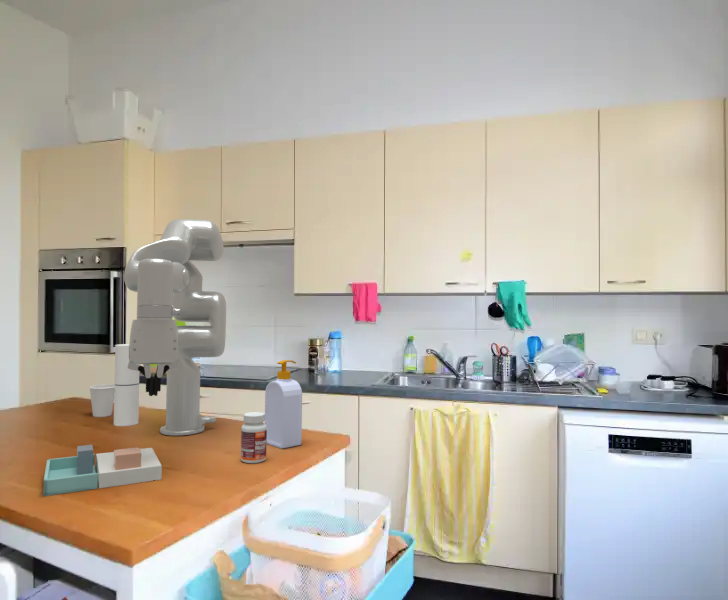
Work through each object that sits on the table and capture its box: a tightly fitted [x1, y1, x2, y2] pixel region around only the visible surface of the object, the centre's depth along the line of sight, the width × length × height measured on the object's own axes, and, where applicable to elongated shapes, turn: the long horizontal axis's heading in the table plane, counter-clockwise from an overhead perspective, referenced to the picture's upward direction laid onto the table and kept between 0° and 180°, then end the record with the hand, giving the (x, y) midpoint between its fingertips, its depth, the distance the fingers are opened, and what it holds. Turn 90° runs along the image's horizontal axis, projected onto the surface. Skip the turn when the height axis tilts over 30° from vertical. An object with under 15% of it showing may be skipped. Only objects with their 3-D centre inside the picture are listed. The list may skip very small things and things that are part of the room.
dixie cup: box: [88, 383, 115, 418], centre depth 175 cm, size 8×8×10 cm
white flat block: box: [95, 447, 163, 489], centre depth 115 cm, size 12×16×3 cm
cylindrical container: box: [113, 343, 141, 427], centre depth 163 cm, size 7×7×25 cm
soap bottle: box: [264, 359, 303, 450], centre depth 142 cm, size 9×7×23 cm
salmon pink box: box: [113, 446, 141, 470], centre depth 111 cm, size 5×5×3 cm
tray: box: [42, 453, 98, 497], centre depth 110 cm, size 9×16×3 cm, turn 30°
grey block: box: [76, 444, 94, 475], centre depth 115 cm, size 5×5×3 cm
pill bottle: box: [240, 411, 267, 464], centre depth 126 cm, size 6×6×11 cm
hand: (153, 394), depth 116 cm, fingers closed
